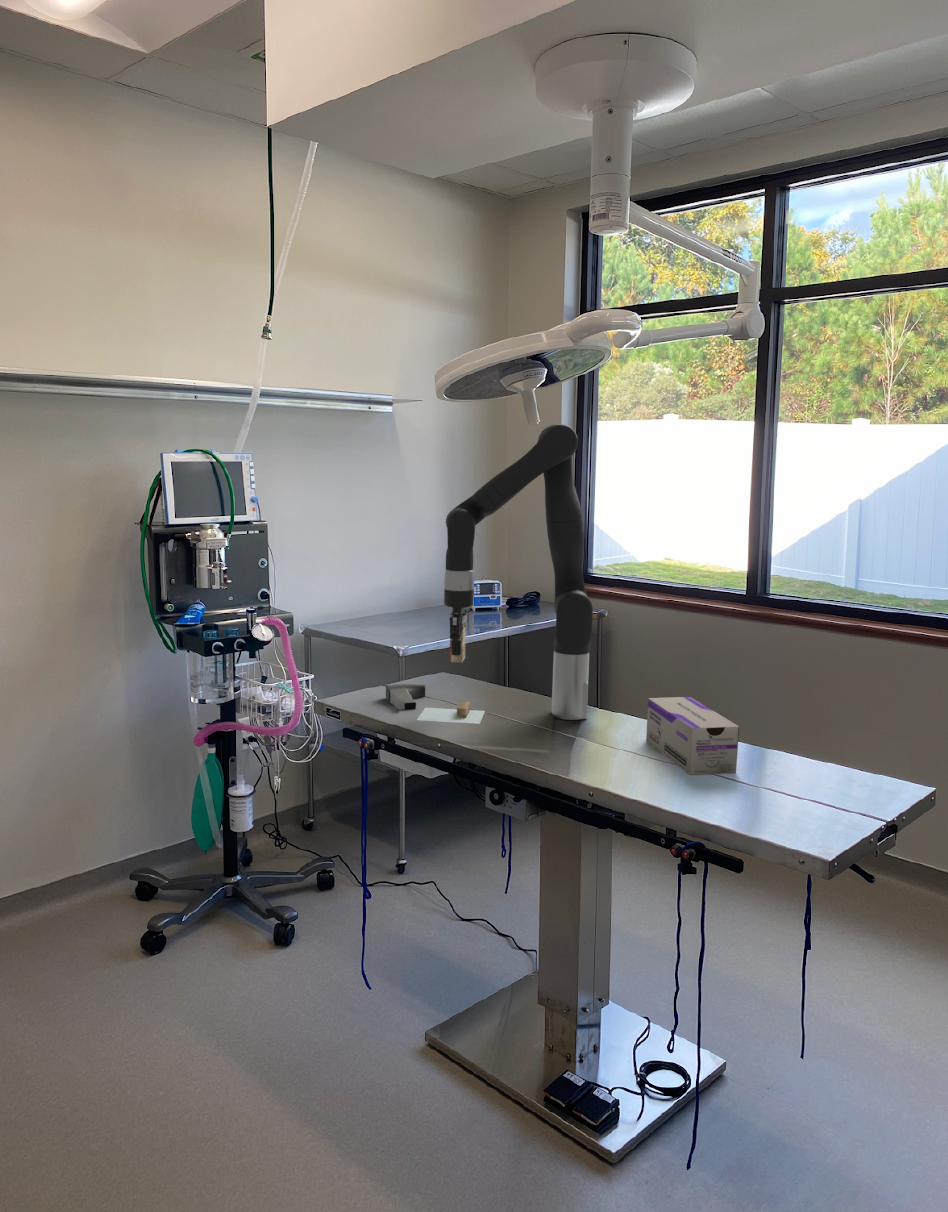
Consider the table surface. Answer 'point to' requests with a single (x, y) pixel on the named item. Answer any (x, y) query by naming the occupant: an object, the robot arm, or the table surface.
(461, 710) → the rail
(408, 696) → the infrared thermometer
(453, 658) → the wooden block
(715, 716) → the surgical sutures box
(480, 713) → the silicone mat
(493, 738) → the table surface
